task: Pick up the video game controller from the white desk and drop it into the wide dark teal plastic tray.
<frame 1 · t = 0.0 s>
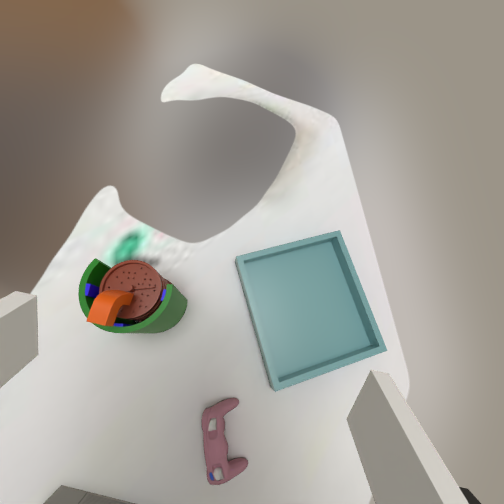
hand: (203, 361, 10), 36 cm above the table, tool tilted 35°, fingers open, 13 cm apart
tray: (304, 304, 48), on the table
video game controller: (224, 432, 41), on the table
motor: (156, 305, 45), on the table
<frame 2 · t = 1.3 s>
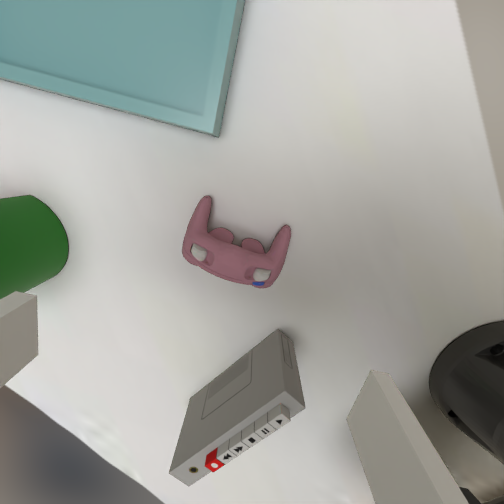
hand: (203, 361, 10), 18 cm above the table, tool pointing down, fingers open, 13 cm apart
video game controller: (239, 235, 28), on the table
motor: (28, 240, 29), on the table
cassette player: (239, 369, 34), on the table
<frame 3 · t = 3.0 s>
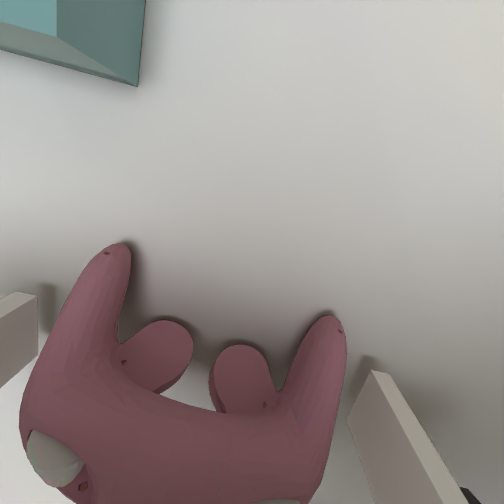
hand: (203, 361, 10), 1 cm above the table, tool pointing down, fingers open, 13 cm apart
video game controller: (212, 329, 12), on the table
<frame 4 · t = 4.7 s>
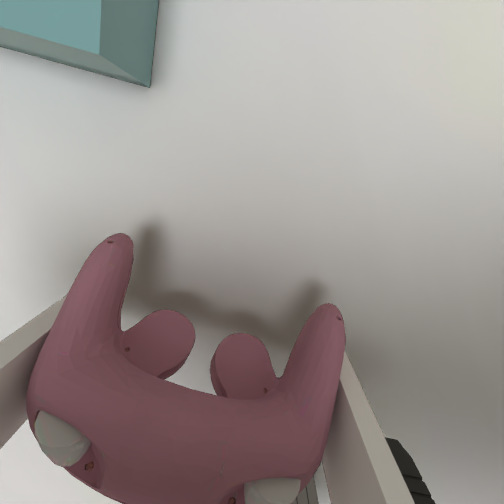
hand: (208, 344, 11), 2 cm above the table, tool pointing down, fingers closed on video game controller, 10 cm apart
video game controller: (213, 319, 12), point 2 cm above the table, touching gripper
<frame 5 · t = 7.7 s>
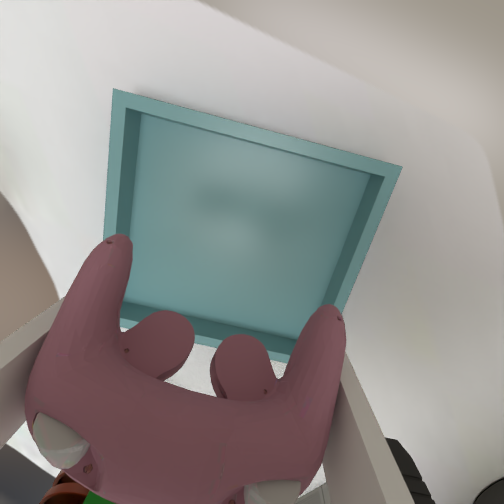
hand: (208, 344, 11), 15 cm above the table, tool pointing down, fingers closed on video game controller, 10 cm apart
tray: (236, 241, 26), on the table
video game controller: (213, 320, 12), point 15 cm above the table, touching gripper
motor: (139, 409, 34), on the table
cassette player: (307, 498, 39), on the table
when the fingers open (2 cm above the table, at t = 11.0 s): video game controller stays where it is, resting on tray.
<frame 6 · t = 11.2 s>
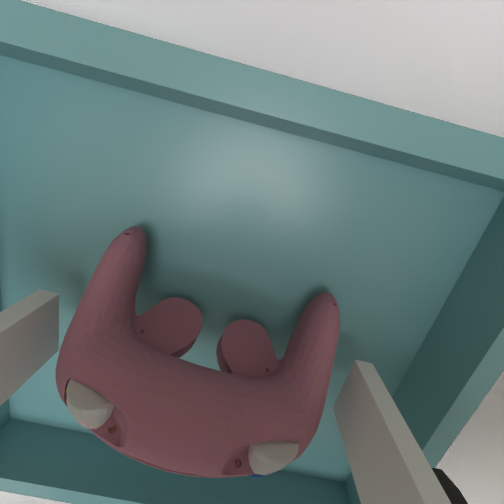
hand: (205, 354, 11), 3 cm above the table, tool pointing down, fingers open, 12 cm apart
tray: (216, 316, 13), on the table
video game controller: (219, 307, 13), point 1 cm above the table, touching tray
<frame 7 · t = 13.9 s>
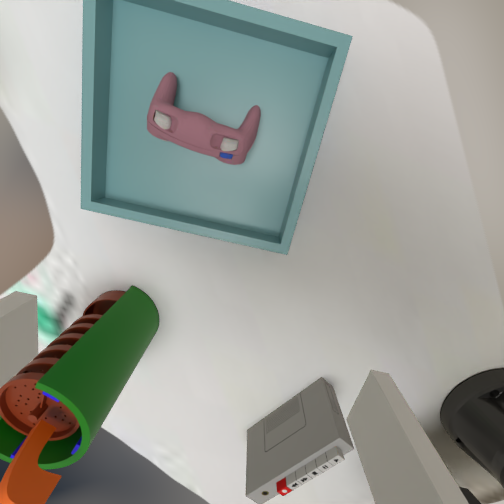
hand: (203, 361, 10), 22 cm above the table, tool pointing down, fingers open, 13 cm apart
tray: (208, 134, 28), on the table
video game controller: (209, 123, 27), point 1 cm above the table, touching tray
motor: (126, 316, 36), on the table
cassette player: (288, 407, 42), on the table
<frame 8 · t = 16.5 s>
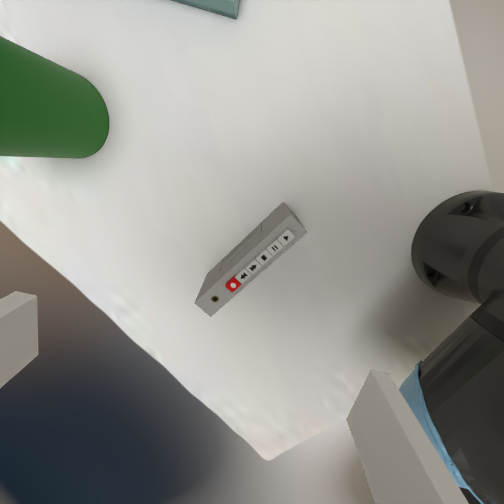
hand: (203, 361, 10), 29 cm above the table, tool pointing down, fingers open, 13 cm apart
motor: (75, 119, 34), on the table
cassette player: (250, 245, 39), on the table
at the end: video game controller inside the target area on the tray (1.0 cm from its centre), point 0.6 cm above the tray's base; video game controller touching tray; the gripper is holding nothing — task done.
